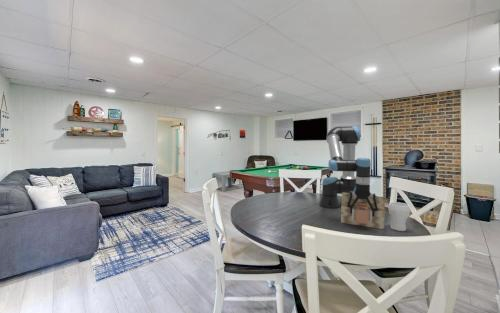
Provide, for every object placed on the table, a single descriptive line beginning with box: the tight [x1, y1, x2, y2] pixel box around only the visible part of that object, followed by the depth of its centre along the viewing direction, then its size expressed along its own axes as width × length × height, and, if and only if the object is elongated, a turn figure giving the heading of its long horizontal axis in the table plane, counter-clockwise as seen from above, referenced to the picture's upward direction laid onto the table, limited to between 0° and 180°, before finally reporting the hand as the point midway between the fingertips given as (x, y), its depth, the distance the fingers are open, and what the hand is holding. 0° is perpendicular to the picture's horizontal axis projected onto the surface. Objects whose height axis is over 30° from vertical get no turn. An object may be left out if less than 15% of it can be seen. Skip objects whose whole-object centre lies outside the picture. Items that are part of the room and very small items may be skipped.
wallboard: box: [340, 192, 386, 230], centre depth 136 cm, size 24×5×19 cm, turn 62°
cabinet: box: [356, 203, 368, 224], centre depth 132 cm, size 6×10×9 cm, turn 152°
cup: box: [387, 201, 411, 232], centre depth 129 cm, size 11×11×15 cm
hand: (361, 220), depth 130 cm, fingers open, 9 cm apart
